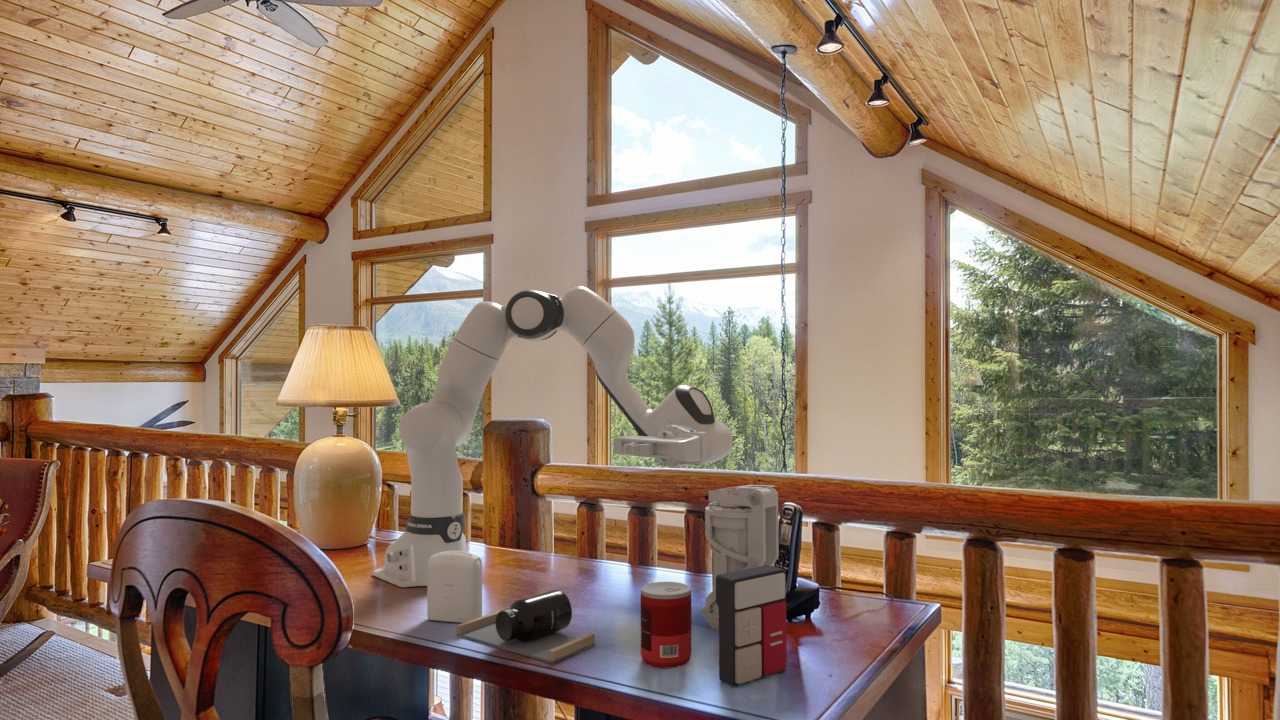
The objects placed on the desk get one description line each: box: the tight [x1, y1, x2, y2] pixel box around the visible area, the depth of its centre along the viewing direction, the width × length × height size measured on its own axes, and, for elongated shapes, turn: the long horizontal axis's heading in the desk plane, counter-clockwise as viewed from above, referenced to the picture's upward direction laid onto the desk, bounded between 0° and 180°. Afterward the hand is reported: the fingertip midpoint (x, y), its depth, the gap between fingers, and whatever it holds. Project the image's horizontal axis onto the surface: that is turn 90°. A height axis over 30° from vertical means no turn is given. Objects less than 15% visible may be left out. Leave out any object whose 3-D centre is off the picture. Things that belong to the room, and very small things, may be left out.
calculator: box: [716, 565, 788, 688], centre depth 107 cm, size 11×4×15 cm, turn 126°
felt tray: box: [456, 609, 596, 665], centre depth 122 cm, size 22×10×2 cm, turn 55°
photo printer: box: [426, 551, 483, 624], centre depth 133 cm, size 10×4×12 cm, turn 74°
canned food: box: [640, 581, 692, 669], centre depth 113 cm, size 8×8×11 cm
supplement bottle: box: [495, 589, 573, 642], centre depth 122 cm, size 7×7×12 cm
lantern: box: [700, 484, 780, 632], centre depth 130 cm, size 13×10×25 cm
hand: (627, 449), depth 143 cm, fingers closed
